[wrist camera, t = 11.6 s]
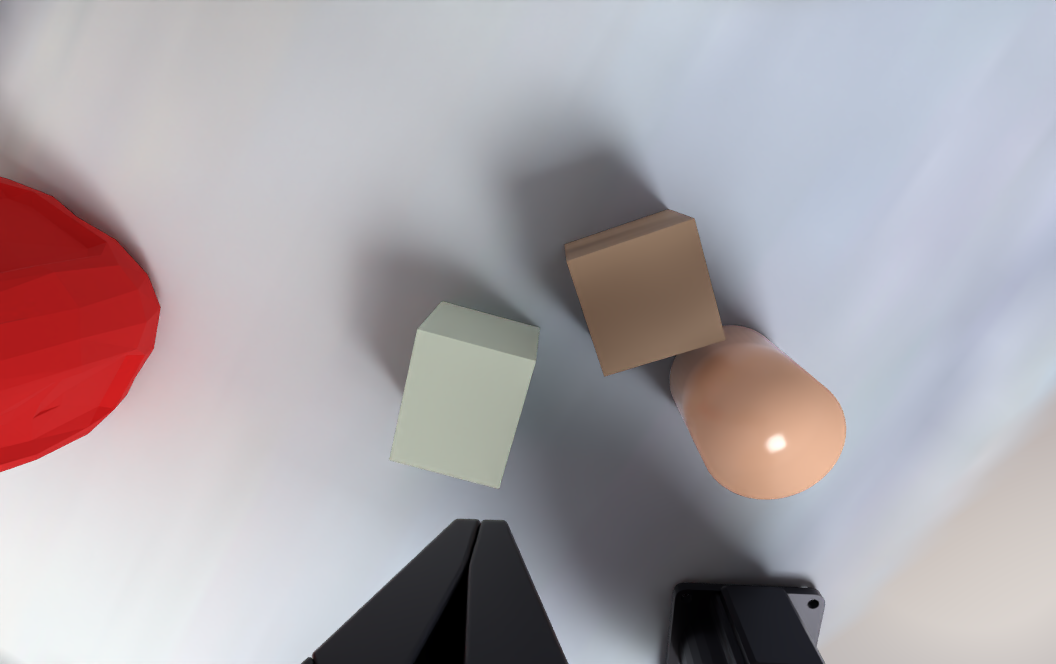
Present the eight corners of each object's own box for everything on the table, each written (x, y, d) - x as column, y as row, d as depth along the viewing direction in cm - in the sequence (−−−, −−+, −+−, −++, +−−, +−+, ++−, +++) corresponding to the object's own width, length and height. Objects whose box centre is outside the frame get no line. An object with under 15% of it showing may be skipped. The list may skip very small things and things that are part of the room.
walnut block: (694, 308, 21) (726, 339, 17) (595, 339, 22) (604, 376, 18) (667, 209, 20) (694, 218, 16) (564, 244, 20) (566, 261, 17)
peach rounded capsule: (778, 425, 22) (838, 497, 17) (668, 429, 22) (698, 501, 18) (786, 322, 21) (853, 369, 16) (669, 327, 21) (702, 375, 16)
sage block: (508, 435, 23) (499, 488, 19) (417, 411, 23) (388, 460, 19) (539, 326, 22) (535, 361, 18) (442, 300, 21) (417, 328, 18)
